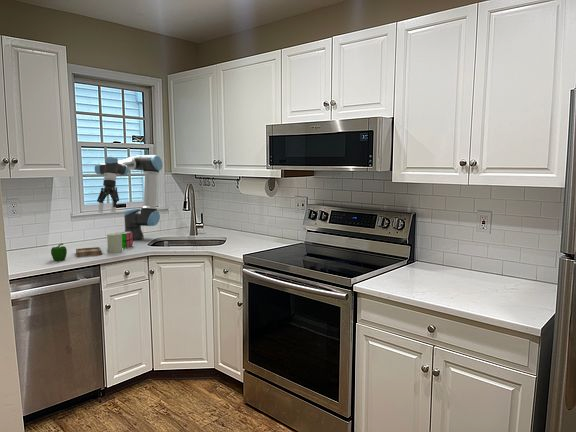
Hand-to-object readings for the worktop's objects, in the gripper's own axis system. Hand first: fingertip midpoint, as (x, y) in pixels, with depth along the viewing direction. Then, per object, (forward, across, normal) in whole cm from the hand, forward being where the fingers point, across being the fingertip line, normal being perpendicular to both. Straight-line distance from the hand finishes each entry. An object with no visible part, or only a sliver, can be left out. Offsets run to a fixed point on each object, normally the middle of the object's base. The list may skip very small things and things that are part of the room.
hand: (106, 212), depth 289 cm
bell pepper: (+32, -3, -27) cm, 42 cm away
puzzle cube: (+22, -9, +21) cm, 32 cm away
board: (+28, -5, -6) cm, 29 cm away
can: (+25, +2, +8) cm, 26 cm away
